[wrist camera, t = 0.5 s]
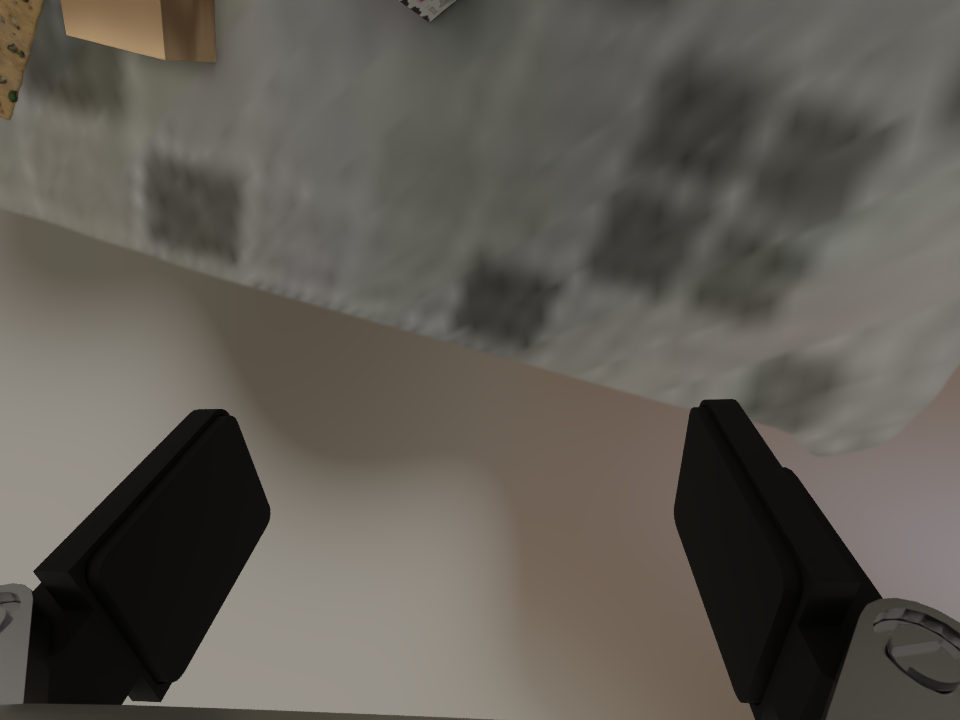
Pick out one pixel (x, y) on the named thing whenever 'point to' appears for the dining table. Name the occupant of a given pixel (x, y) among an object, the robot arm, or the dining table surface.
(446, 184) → the dining table surface
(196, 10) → the oak block
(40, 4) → the cookie
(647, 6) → the dining table surface
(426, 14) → the candy bar box
